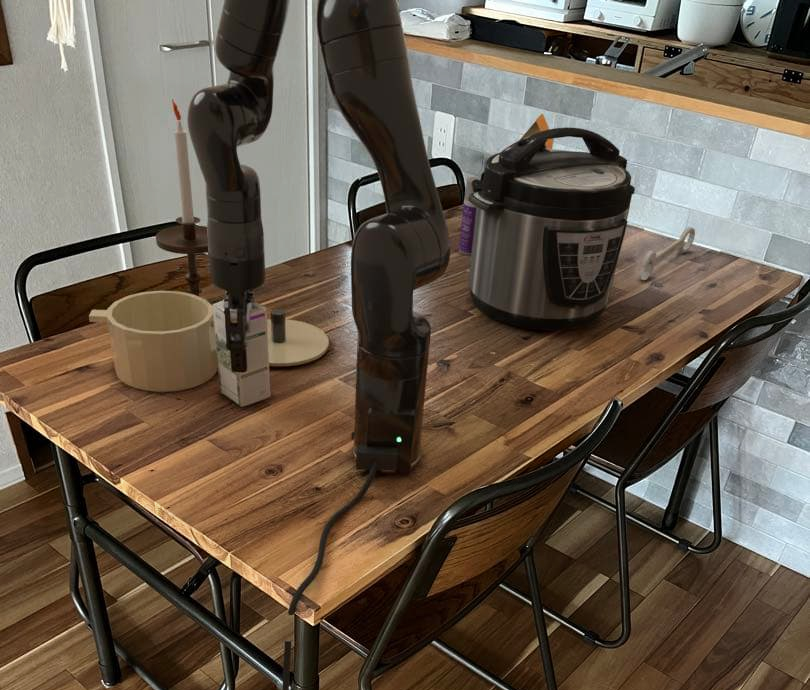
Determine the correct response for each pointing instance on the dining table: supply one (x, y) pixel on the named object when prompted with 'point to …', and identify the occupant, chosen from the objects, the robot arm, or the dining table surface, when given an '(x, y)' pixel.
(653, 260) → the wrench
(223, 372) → the syrup box
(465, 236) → the container
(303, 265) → the dining table surface
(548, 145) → the orange juice
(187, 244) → the candlestick
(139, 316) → the pot
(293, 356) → the lid
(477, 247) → the pressure cooker
